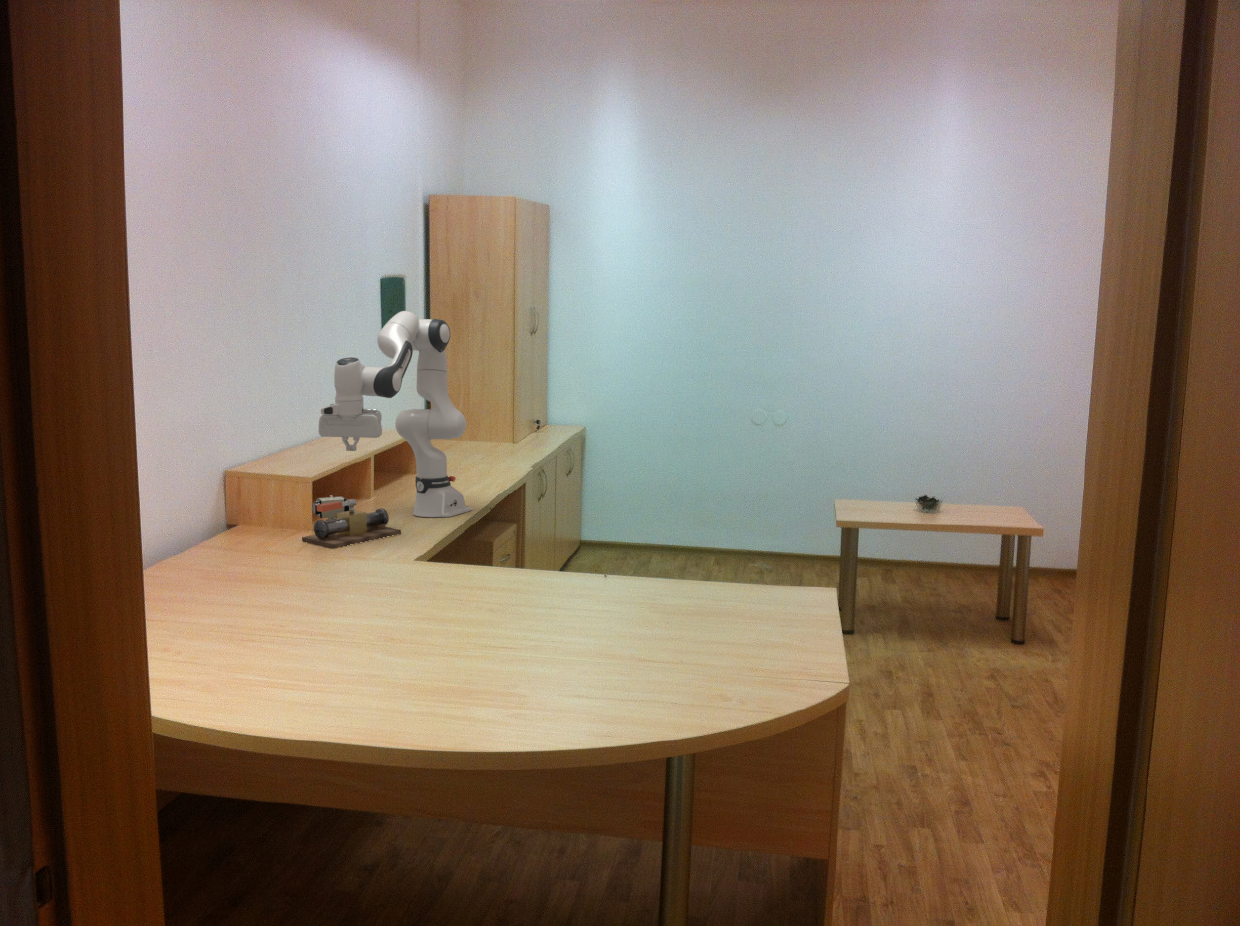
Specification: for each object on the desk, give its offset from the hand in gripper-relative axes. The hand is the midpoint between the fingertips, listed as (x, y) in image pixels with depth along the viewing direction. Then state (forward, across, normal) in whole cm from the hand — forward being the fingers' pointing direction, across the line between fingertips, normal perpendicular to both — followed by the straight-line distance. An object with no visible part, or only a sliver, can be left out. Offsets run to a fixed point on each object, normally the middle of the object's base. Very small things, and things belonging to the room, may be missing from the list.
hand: (351, 450), depth 336 cm
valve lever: (+19, +4, +3) cm, 19 cm away
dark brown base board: (+30, +1, -2) cm, 30 cm away
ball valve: (+28, +1, -2) cm, 28 cm away
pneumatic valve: (+30, +13, -14) cm, 36 cm away
